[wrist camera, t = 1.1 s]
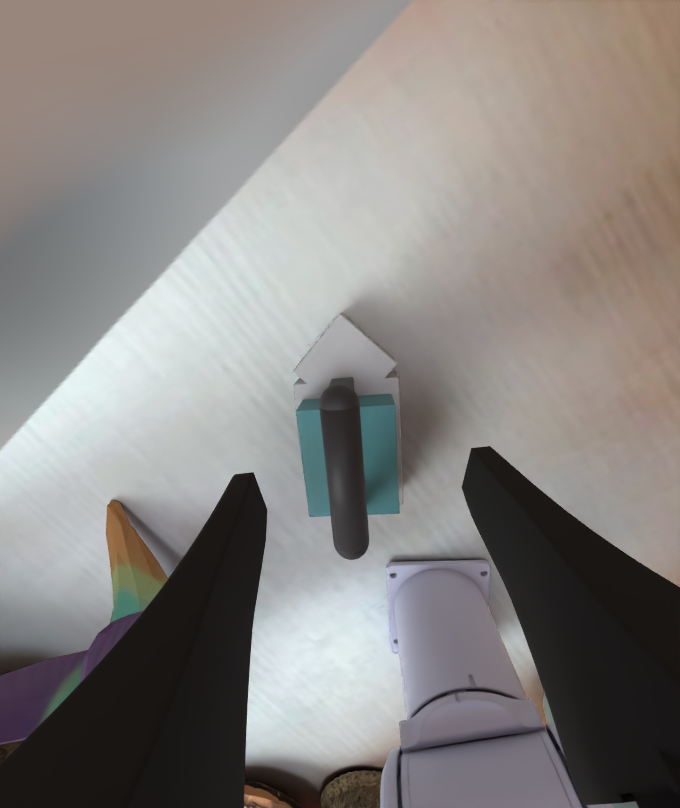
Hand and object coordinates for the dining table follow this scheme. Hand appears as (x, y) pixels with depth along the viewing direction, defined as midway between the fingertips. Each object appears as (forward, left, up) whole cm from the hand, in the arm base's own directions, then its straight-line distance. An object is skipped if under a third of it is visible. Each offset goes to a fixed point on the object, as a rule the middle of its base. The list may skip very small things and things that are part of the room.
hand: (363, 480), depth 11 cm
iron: (-1, +1, -12) cm, 12 cm away
